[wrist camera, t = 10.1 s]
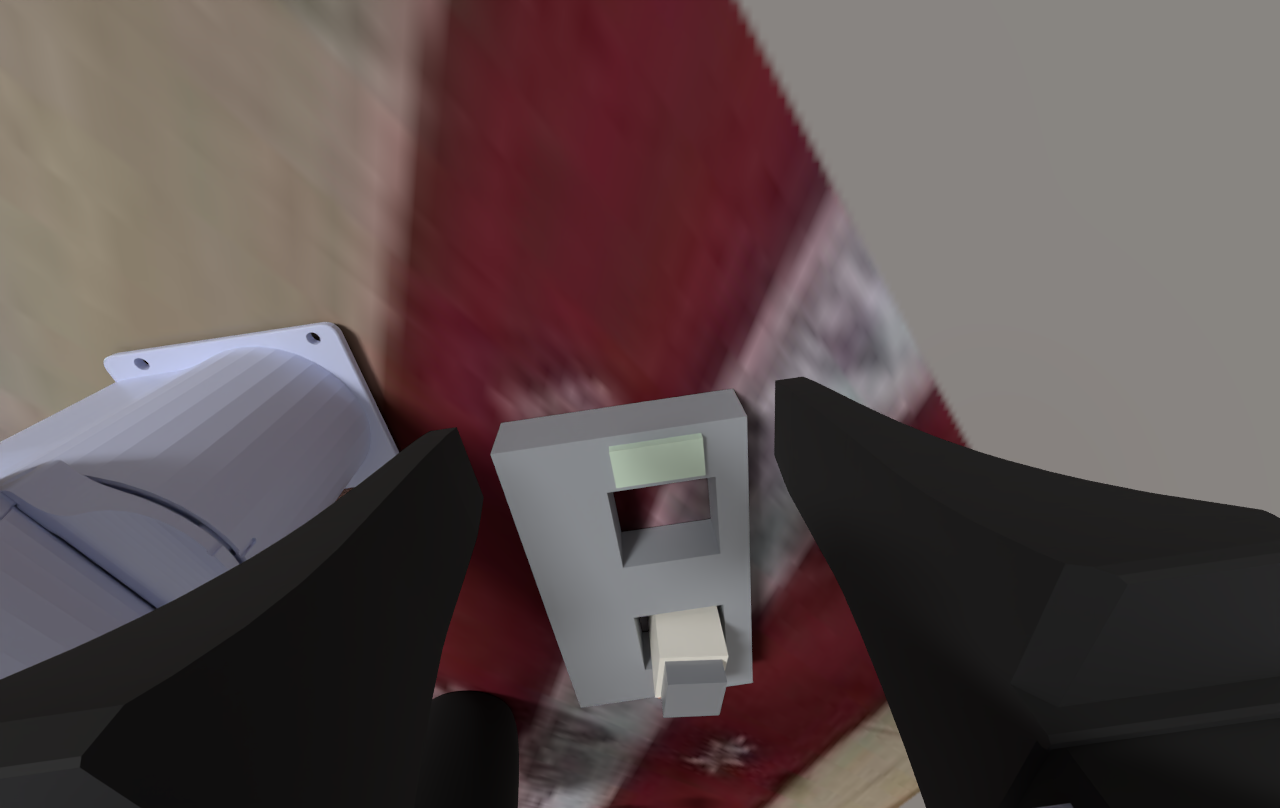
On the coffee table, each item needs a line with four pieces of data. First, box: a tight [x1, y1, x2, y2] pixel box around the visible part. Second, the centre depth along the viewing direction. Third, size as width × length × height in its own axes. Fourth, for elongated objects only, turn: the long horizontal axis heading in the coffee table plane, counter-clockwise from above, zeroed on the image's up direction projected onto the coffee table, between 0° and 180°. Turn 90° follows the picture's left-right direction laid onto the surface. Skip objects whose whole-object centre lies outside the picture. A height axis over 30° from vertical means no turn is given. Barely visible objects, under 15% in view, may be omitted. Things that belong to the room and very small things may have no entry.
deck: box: [491, 389, 753, 708], centre depth 26 cm, size 11×20×3 cm, turn 7°
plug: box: [648, 606, 728, 718], centre depth 27 cm, size 4×4×6 cm
